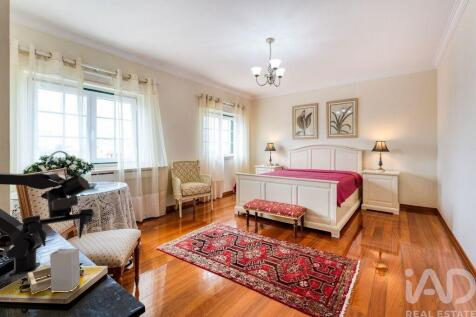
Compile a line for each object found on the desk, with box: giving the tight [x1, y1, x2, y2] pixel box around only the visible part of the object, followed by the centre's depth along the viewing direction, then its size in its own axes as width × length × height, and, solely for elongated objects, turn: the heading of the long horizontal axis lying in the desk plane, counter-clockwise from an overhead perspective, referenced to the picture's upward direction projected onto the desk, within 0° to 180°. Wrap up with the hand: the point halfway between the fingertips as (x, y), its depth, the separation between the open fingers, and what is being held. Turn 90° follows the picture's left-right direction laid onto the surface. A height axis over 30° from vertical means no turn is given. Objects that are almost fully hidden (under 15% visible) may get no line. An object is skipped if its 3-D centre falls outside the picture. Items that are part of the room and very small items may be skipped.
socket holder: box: [27, 265, 51, 294], centre depth 72 cm, size 10×10×3 cm
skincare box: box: [49, 247, 81, 292], centre depth 68 cm, size 6×4×12 cm
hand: (63, 241), depth 72 cm, fingers open, 9 cm apart
